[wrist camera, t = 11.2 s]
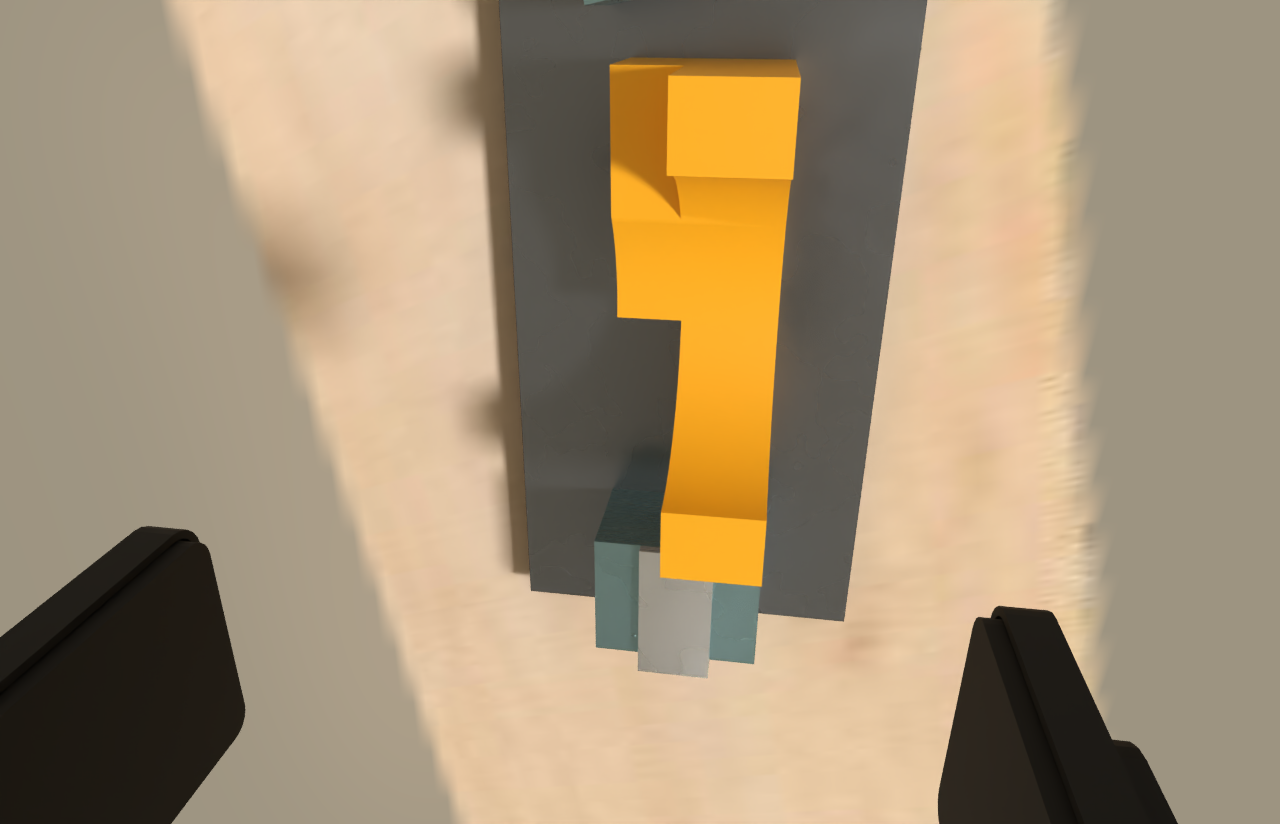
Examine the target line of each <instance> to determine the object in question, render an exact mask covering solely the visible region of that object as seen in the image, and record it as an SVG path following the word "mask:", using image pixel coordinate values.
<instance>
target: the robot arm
mask: <svg viewBox="0 0 1280 824" xmlns="http://www.w3.org/2000/svg"><path fill="white" fill-rule="evenodd" d="M244 717H245V703H244V699H243V695H242V690H241V686H240V682H239V677H238V673H237V669H236V665H235V660H234V655H233V651H232V647H231V643H230V638H229V634H228V630H227V625H226V621H225V616H224V612H223V608H222V604H221V599H220V595H219V590H218V586H217V582H216V577H215V573H214V569H213V564H212V560H211V556H210V552H209V550H208V548H207V547H206V546H205V545H204V544H202V543H200V542H199V540H198V537H197V536H196V535H195V534H194V533H193V532H191V531H189V530H184V529H173V528H162V527H152V526H146V527H141V528H139V529H137V530H135V531H134V532H132V533H131V534H130V535H129V536H127V537H126V538H125V539H124V540H122V541H121V542H120V543H118V544H117V545H116V546H115V547H113V548H112V549H111V550H110V551H108V552H107V553H106V554H105V555H103V556H102V557H101V558H100V559H98V560H97V561H96V562H95V563H93V564H92V565H91V566H90V567H88V568H87V569H86V570H84V571H83V572H82V573H81V574H79V575H78V576H77V577H76V578H74V579H73V580H72V581H71V582H69V583H68V584H67V585H66V586H64V587H63V588H62V589H61V590H59V591H58V592H57V593H55V594H54V595H53V596H52V597H50V598H49V599H48V600H47V601H46V602H44V603H43V604H42V605H40V606H39V607H38V608H37V609H35V610H34V611H33V612H32V613H30V614H29V615H28V616H26V617H25V618H24V619H23V620H21V621H20V622H19V623H18V624H17V625H15V626H14V627H13V628H11V629H10V630H9V631H8V632H6V633H5V634H4V635H3V636H1V637H0V824H171V823H172V822H173V821H174V819H175V818H176V817H177V815H178V814H179V813H180V811H181V810H182V808H183V807H184V806H185V805H186V803H187V802H188V800H189V799H190V798H191V797H192V795H193V794H194V793H195V791H196V790H197V789H198V787H199V786H200V785H201V784H202V782H203V781H204V780H205V778H206V777H207V776H208V774H209V773H210V772H211V770H212V769H213V768H214V766H215V765H216V764H217V762H218V761H219V759H220V758H221V757H222V756H223V754H224V753H225V751H226V750H227V749H228V748H229V746H230V745H231V744H232V743H233V741H234V740H235V738H236V737H237V735H238V734H239V732H240V730H241V728H242V725H243V722H244ZM938 817H939V824H1178V823H1177V821H1176V819H1175V817H1174V815H1173V813H1172V811H1171V809H1170V807H1169V805H1168V803H1167V801H1166V799H1165V797H1164V795H1163V793H1162V791H1161V789H1160V786H1159V785H1158V783H1157V781H1156V778H1155V776H1154V774H1153V772H1152V770H1151V768H1150V766H1149V764H1148V762H1147V760H1146V759H1145V757H1144V756H1143V754H1142V753H1141V751H1140V749H1139V748H1138V747H1137V746H1135V745H1134V744H1133V743H1131V742H1128V741H1119V740H1112V739H1111V737H1110V734H1109V732H1108V730H1107V728H1106V726H1105V724H1104V721H1103V719H1102V717H1101V715H1100V713H1099V710H1098V708H1097V706H1096V704H1095V702H1094V700H1093V697H1092V695H1091V693H1090V691H1089V689H1088V687H1087V684H1086V682H1085V680H1084V678H1083V676H1082V674H1081V671H1080V669H1079V667H1078V665H1077V663H1076V661H1075V658H1074V656H1073V654H1072V652H1071V650H1070V648H1069V645H1068V643H1067V641H1066V639H1065V637H1064V634H1063V632H1062V630H1061V628H1060V626H1059V624H1058V621H1057V619H1056V618H1055V616H1054V614H1053V613H1052V612H1050V611H1047V610H1037V609H1026V608H1015V607H1005V606H998V607H996V608H995V609H994V611H993V612H992V615H991V618H983V617H978V618H976V620H975V622H974V625H973V629H972V634H971V639H970V643H969V648H968V653H967V658H966V663H965V667H964V672H963V677H962V682H961V687H960V691H959V696H958V701H957V706H956V710H955V715H954V720H953V725H952V730H951V734H950V739H949V744H948V749H947V754H946V758H945V763H944V768H943V773H942V778H941V782H940V787H939V794H938Z"/></svg>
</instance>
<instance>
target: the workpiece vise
mask: <svg viewBox="0 0 1280 824" xmlns="http://www.w3.org/2000/svg"><path fill="white" fill-rule="evenodd" d="M926 6H927V0H499V10H500V28H501V47H502V65H503V84H504V102H505V121H506V139H507V158H508V176H509V195H510V213H511V232H512V250H513V268H514V287H515V305H516V324H517V342H518V361H519V379H520V398H521V416H522V435H523V453H524V472H525V490H526V509H527V527H528V546H529V564H530V583H531V591H539V592H550V593H560V594H570V595H580V596H590V597H595V618H596V647H598V648H607V649H617V650H626V651H635V652H638V671H645V672H654V673H663V674H672V675H682V676H691V677H700V678H708V670H709V661H710V659H711V660H720V661H730V662H739V663H748V664H754V657H755V645H756V633H757V621H758V613H763V614H773V615H783V616H793V617H803V618H813V619H824V620H834V621H844V617H845V609H846V602H847V594H848V587H849V580H850V572H851V565H852V557H853V550H854V542H855V535H856V527H857V520H858V513H859V505H860V498H861V490H862V483H863V475H864V468H865V460H866V453H867V446H868V438H869V431H870V423H871V416H872V408H873V401H874V393H875V386H876V379H877V371H878V364H879V356H880V349H881V341H882V334H883V326H884V319H885V312H886V304H887V297H888V289H889V282H890V274H891V267H892V259H893V252H894V245H895V237H896V230H897V222H898V215H899V207H900V200H901V192H902V185H903V177H904V170H905V163H906V155H907V148H908V140H909V133H910V125H911V118H912V110H913V103H914V96H915V88H916V81H917V73H918V66H919V58H920V51H921V43H922V36H923V29H924V21H925V14H926ZM631 57H633V58H713V59H793V60H796V62H797V65H798V69H799V73H800V76H801V83H800V96H799V109H798V122H797V135H796V148H795V161H794V174H793V180H791V185H790V193H789V201H788V210H787V220H786V231H785V242H784V253H783V265H782V278H781V290H780V303H779V317H778V330H777V344H776V359H775V374H774V389H773V405H772V421H771V439H770V457H769V476H768V498H767V523H766V536H765V549H764V562H763V575H762V587H759V586H748V585H737V584H726V583H715V582H704V581H693V580H682V579H671V578H660V536H661V510H662V505H663V500H664V495H665V490H666V484H667V478H668V471H669V464H670V456H671V448H672V440H673V431H674V421H675V411H676V400H677V387H678V374H679V358H680V340H681V321H679V320H660V319H641V318H622V317H617V269H616V253H615V242H614V233H613V225H612V218H611V147H610V64H613V63H616V62H619V61H622V60H625V59H628V58H631Z"/></svg>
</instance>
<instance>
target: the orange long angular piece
mask: <svg viewBox="0 0 1280 824" xmlns="http://www.w3.org/2000/svg"><path fill="white" fill-rule="evenodd" d="M800 83H801V76H800V73H799V69H798V65H797V62H796V60H793V59H713V58H633V57H631V58H628V59H625V60H622V61H619V62H616V63H613V64H610V147H611V218H612V225H613V233H614V242H615V253H616V269H617V317H622V318H641V319H660V320H679V321H681V340H680V358H679V374H678V387H677V400H676V411H675V421H674V431H673V440H672V448H671V456H670V464H669V471H668V478H667V484H666V490H665V495H664V500H663V505H662V510H661V536H660V578H671V579H682V580H693V581H704V582H715V583H726V584H737V585H748V586H759V587H762V575H763V562H764V549H765V536H766V523H767V498H768V476H769V457H770V439H771V421H772V405H773V389H774V374H775V359H776V344H777V330H778V317H779V303H780V290H781V278H782V265H783V253H784V242H785V231H786V220H787V210H788V201H789V193H790V185H791V180H793V174H794V161H795V148H796V135H797V122H798V109H799V96H800Z"/></svg>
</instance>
